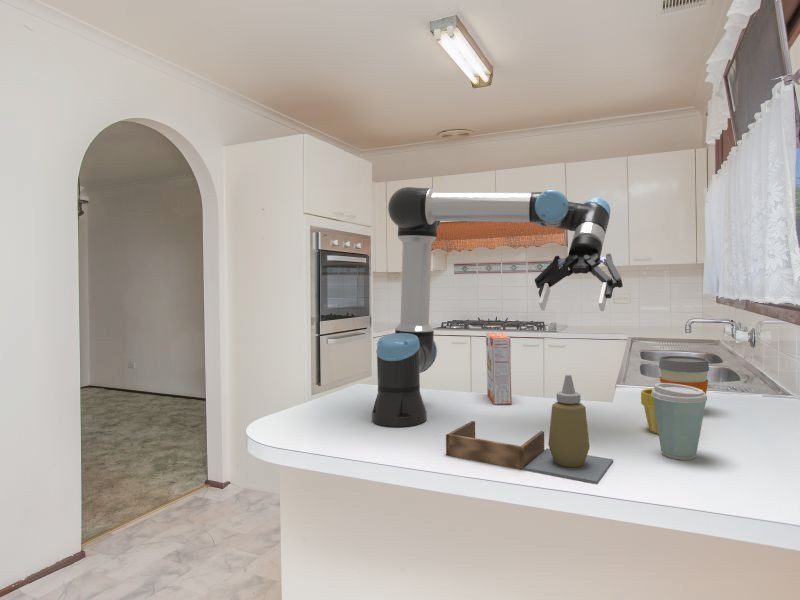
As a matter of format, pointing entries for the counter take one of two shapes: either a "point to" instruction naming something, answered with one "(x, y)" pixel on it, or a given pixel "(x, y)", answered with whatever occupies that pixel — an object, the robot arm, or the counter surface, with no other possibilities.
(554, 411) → the squeeze bottle
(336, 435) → the counter surface
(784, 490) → the counter surface
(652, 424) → the plant pot
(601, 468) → the slate mat
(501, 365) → the cracker box
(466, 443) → the walnut nook
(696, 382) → the reusable coffee cup
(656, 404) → the disposable coffee cup
